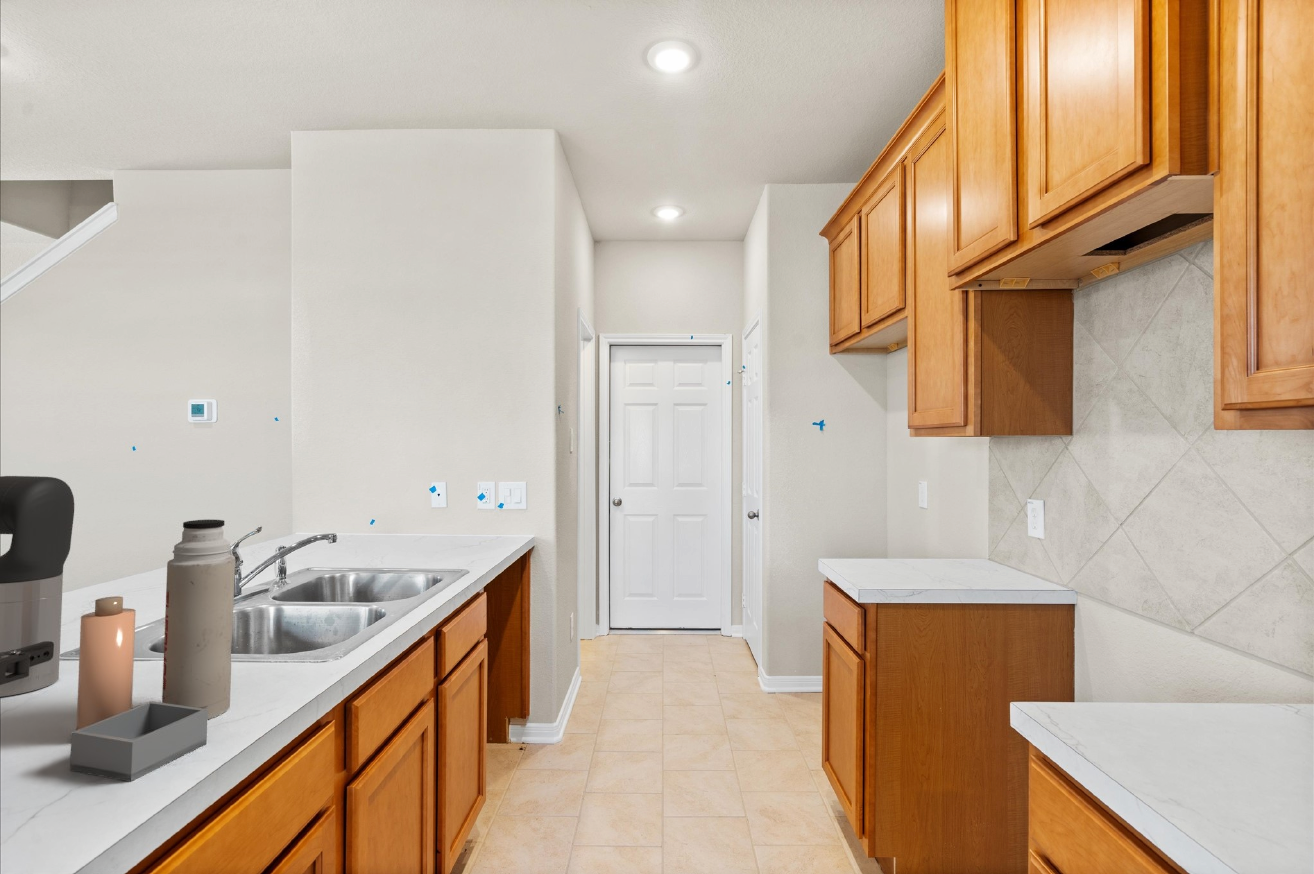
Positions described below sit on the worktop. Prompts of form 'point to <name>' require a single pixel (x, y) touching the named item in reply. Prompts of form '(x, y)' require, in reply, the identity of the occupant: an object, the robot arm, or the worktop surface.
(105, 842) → the worktop surface
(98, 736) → the bin
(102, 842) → the worktop surface
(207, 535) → the thermos bottle
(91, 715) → the oil bottle
